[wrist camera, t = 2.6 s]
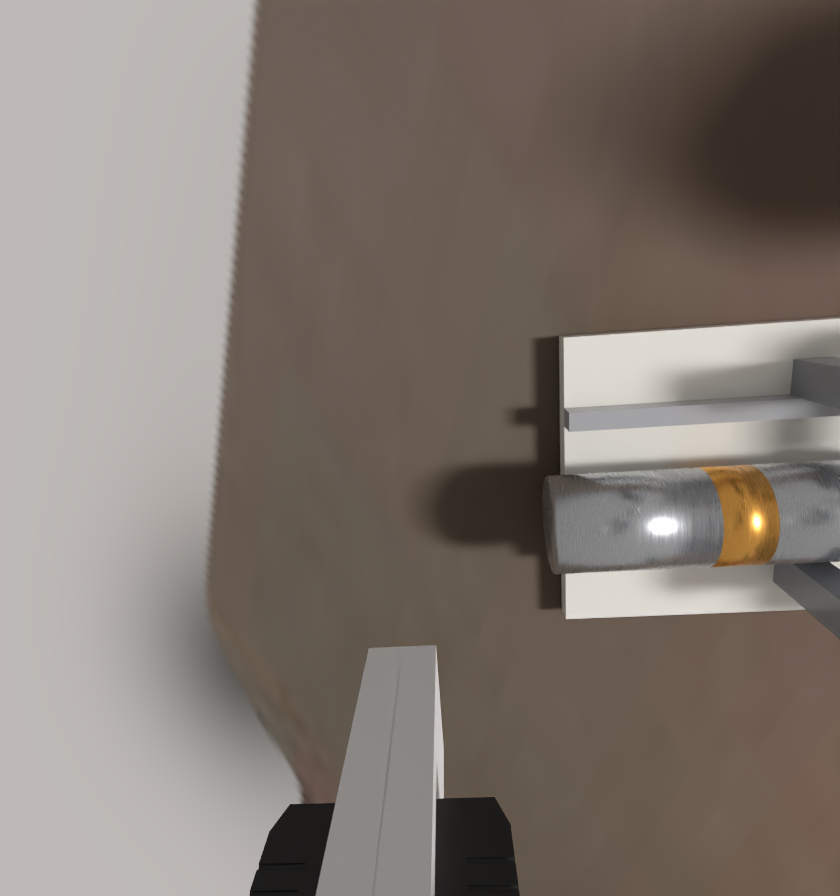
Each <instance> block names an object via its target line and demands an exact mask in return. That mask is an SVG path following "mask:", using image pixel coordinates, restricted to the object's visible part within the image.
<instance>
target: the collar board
mask: <svg viewBox="0 0 840 896" xmlns="http://www.w3.org/2000/svg"><path fill="white" fill-rule="evenodd" d="M559 388H560V475H569V474H588V473H606V472H624V471H642V470H660V469H679V468H697V467H715V466H733V465H751V464H770V463H788V462H806V461H824V460H840V317H826V318H812V319H797V320H783V321H769V322H754V323H740V324H726V325H711V326H697V327H682V328H668V329H654V330H639V331H625V332H611V333H596V334H582V335H567V336H559ZM561 585H562V610H563V613H564V615H565V618H566V619H579V618H605V617H630V616H655V615H680V614H705V613H731V612H756V611H781V610H807V611H808V612H809V613H810V614H811V615H812V616H814V617H815V618H816V619H817V620H818V621H819V622H820V623H822V624H823V625H824V626H825V627H826V628H827V629H829V630H830V631H831V632H832V633H833V634H834V635H836V636H837V637H838V638H839V639H840V562H819V563H797V564H774V565H752V566H729V567H707V568H684V569H662V570H639V571H617V572H594V573H572V574H561Z"/></svg>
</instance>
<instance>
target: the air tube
mask: <svg viewBox="0 0 840 896" xmlns="http://www.w3.org/2000/svg"><path fill="white" fill-rule="evenodd" d="M542 514H543V529H544V538H545V545H546V551H547V556H548V561H549V564H550V568H551V570H552V572H553V573H554V574H572V573H594V572H617V571H639V570H662V569H684V568H707V567H729V566H752V565H774V564H797V563H819V562H840V460H824V461H806V462H788V463H770V464H751V465H733V466H715V467H697V468H679V469H660V470H642V471H624V472H606V473H588V474H569V475H551V476H546V477H545V479H544V483H543V493H542Z"/></svg>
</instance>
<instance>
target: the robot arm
mask: <svg viewBox="0 0 840 896" xmlns="http://www.w3.org/2000/svg"><path fill="white" fill-rule="evenodd" d="M250 896H520V895H519V889H518V879H517V872H516V864H515V856H514V849H513V841H512V833H511V825H510V823H509V821H508V819H507V818H506V816H505V814H504V812H503V811H502V809H501V807H500V806H499V804H498V802H497V801H496V799H495V797H483V798H444V748H443V735H442V721H441V707H440V693H439V680H438V666H437V652H436V645H433V646H408V647H384V648H369V650H368V655H367V659H366V664H365V669H364V673H363V678H362V683H361V687H360V692H359V696H358V701H357V706H356V710H355V715H354V720H353V724H352V729H351V733H350V738H349V743H348V747H347V752H346V757H345V761H344V766H343V771H342V775H341V780H340V784H339V789H338V794H337V798H336V803H325V804H290V805H289V807H288V808H287V809H286V811H285V812H284V813H283V815H282V816H281V817H280V819H279V820H278V821H277V823H276V824H275V825H274V826H273V828H272V829H271V830H270V832H269V835H268V838H267V841H266V844H265V847H264V850H263V853H262V856H261V859H260V862H259V869H258V870H257V871H256V874H255V877H254V881H253V883H252V887H251V890H250Z"/></svg>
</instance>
